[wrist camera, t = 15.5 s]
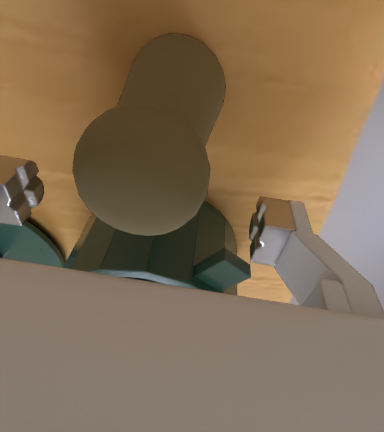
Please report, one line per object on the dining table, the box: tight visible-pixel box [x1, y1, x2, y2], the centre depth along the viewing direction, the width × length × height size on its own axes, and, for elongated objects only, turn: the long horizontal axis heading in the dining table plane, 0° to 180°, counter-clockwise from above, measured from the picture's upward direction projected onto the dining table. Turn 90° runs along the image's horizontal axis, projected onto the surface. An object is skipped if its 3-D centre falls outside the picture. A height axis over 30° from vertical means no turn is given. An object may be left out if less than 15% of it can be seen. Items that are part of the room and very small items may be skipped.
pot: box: [63, 201, 251, 295], centre depth 25 cm, size 15×20×8 cm
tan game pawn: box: [73, 33, 226, 236], centre depth 14 cm, size 6×6×11 cm
